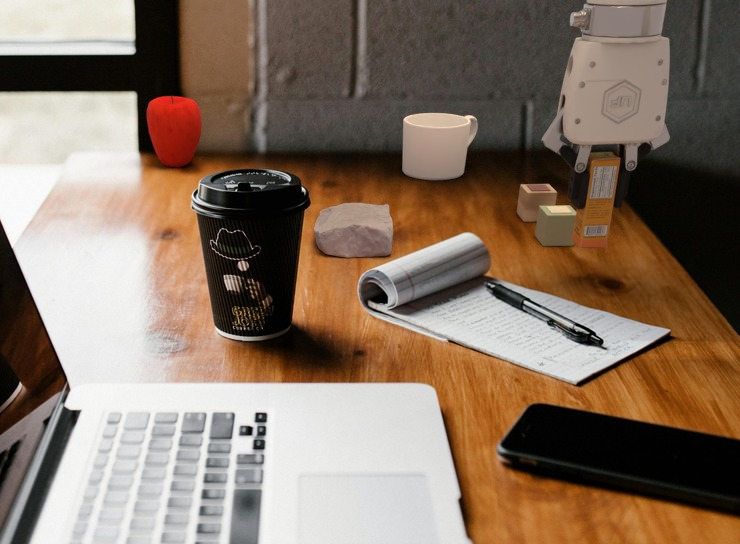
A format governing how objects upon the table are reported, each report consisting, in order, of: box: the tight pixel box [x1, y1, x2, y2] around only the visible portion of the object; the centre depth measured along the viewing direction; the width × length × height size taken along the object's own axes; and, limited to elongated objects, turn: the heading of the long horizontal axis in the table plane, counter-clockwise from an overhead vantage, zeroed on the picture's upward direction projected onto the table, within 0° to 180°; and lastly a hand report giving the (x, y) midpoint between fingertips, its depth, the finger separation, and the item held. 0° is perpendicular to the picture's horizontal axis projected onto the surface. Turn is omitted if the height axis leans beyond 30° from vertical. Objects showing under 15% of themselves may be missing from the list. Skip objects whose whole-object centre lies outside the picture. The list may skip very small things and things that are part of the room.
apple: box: [146, 95, 203, 168], centre depth 141 cm, size 9×9×11 cm
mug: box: [401, 112, 479, 181], centre depth 137 cm, size 13×10×8 cm
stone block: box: [313, 202, 394, 259], centre depth 110 cm, size 12×5×10 cm
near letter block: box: [534, 204, 576, 247], centre depth 110 cm, size 4×4×4 cm
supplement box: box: [572, 151, 621, 250], centre depth 95 cm, size 3×3×10 cm
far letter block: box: [516, 183, 558, 223], centre depth 118 cm, size 4×4×4 cm
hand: (595, 203), depth 95 cm, fingers closed on supplement box, 3 cm apart
